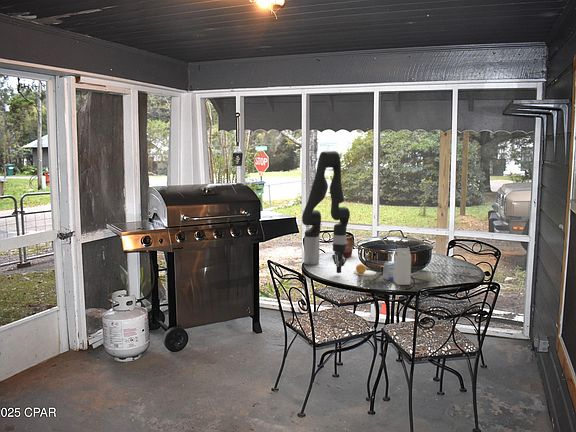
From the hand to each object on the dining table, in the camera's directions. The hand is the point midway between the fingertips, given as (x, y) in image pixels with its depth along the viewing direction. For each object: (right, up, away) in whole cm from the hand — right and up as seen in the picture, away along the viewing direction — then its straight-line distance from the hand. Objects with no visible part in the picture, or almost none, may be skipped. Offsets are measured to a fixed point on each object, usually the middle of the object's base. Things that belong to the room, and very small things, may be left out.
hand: (338, 272), depth 282 cm
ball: (+13, +2, +5) cm, 14 cm away
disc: (+16, -1, +7) cm, 17 cm away
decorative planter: (+9, +5, +53) cm, 54 cm away
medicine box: (+28, -3, -5) cm, 29 cm away
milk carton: (+32, -4, -15) cm, 35 cm away
